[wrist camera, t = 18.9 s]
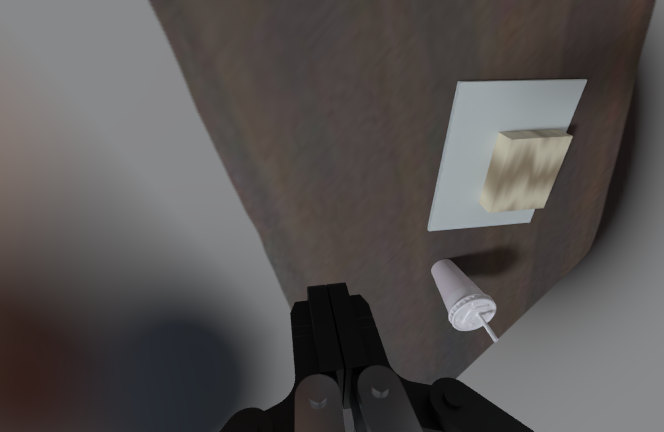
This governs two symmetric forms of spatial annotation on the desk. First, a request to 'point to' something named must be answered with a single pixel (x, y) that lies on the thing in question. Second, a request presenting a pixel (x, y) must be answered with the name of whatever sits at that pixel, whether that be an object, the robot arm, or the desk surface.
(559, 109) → the mat
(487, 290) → the desk surface
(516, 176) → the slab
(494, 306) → the smoothie
